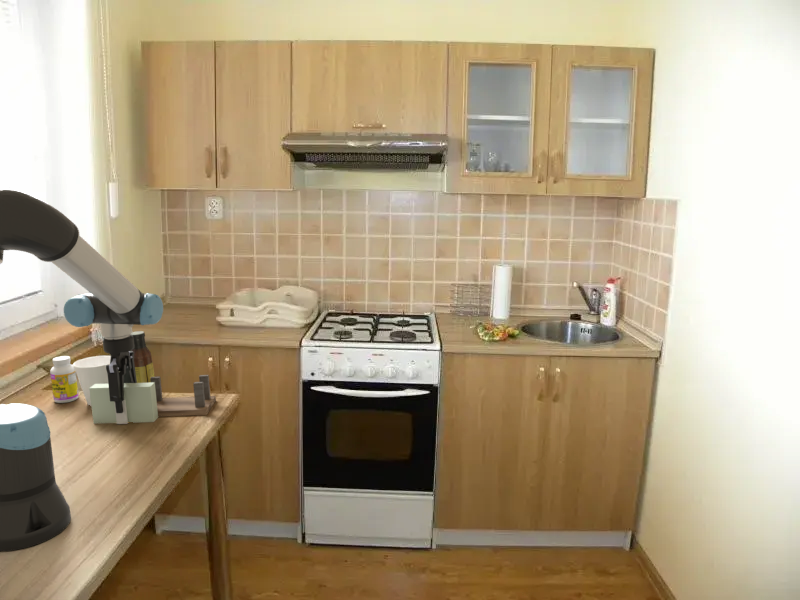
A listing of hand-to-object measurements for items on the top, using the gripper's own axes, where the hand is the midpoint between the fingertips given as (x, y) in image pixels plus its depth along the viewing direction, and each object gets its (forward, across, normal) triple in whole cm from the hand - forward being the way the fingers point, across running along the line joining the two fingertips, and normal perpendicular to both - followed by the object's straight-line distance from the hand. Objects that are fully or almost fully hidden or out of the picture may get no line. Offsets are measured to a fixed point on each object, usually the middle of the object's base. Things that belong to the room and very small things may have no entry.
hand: (127, 418), depth 177 cm
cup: (+1, +15, +13) cm, 20 cm away
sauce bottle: (+1, +18, +1) cm, 18 cm away
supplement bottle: (+1, +18, +24) cm, 30 cm away
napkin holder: (0, +7, -12) cm, 14 cm away
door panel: (0, 0, 0) cm, 1 cm away
